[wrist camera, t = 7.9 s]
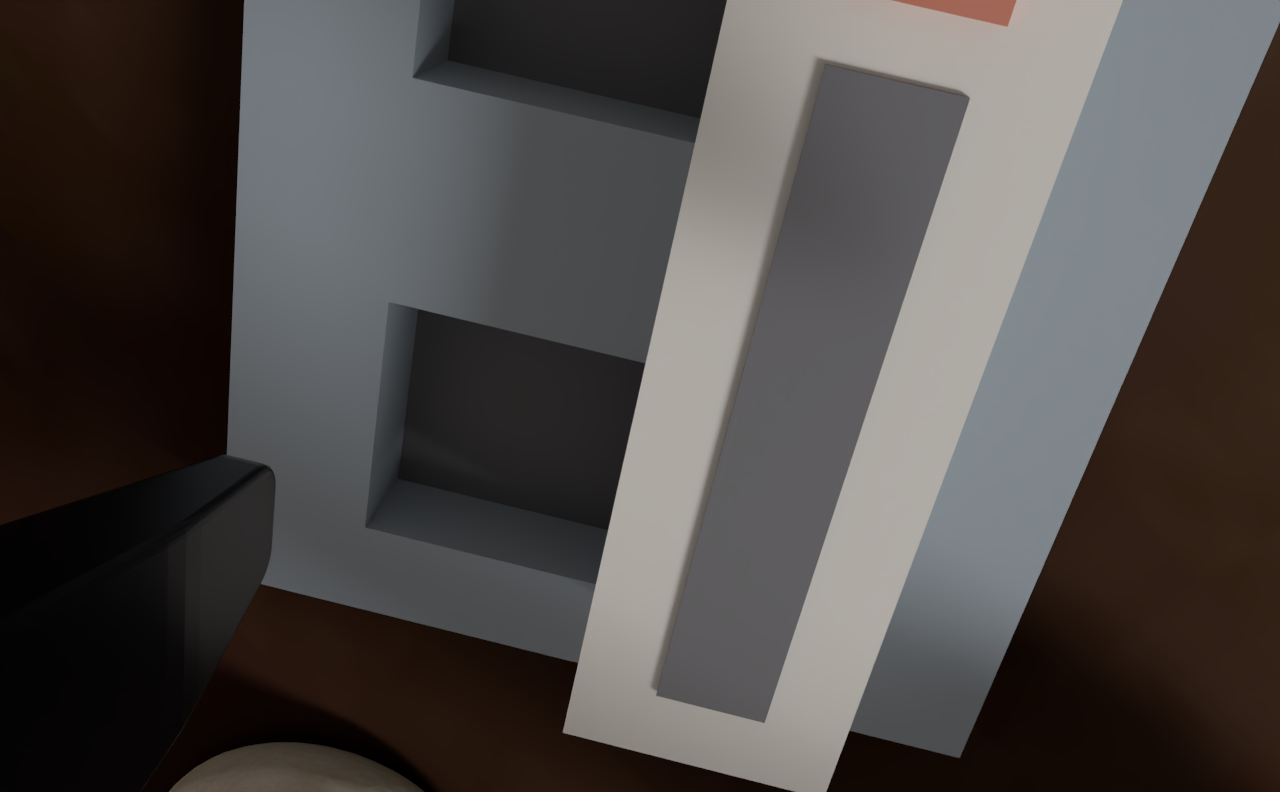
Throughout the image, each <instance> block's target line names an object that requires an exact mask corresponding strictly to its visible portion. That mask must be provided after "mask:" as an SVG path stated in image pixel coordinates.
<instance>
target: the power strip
mask: <svg viewBox="0 0 1280 792" xmlns="http://www.w3.org/2000/svg"><path fill="white" fill-rule="evenodd" d="M1122 2H1123V0H727V3H726V7H725V12H724V16H723V21H722V25H721V30H720V34H719V38H718V43H717V47H716V52H715V56H714V61H713V65H712V70H711V74H710V79H709V83H708V87H707V92H706V96H705V101H704V105H703V110H702V114H701V119H700V123H699V128H698V132H697V136H696V141H695V145H694V150H693V154H692V159H691V163H690V168H689V172H688V177H687V181H686V185H685V190H684V194H683V199H682V203H681V208H680V212H679V217H678V221H677V226H676V230H675V234H674V239H673V243H672V248H671V252H670V257H669V261H668V266H667V270H666V275H665V279H664V284H663V288H662V292H661V297H660V301H659V306H658V310H657V315H656V319H655V324H654V328H653V333H652V337H651V341H650V346H649V350H648V355H647V359H646V364H645V368H644V373H643V377H642V382H641V386H640V390H639V395H638V399H637V404H636V408H635V413H634V417H633V422H632V426H631V431H630V435H629V439H628V444H627V448H626V453H625V457H624V462H623V466H622V471H621V475H620V480H619V484H618V488H617V493H616V497H615V502H614V506H613V511H612V515H611V520H610V524H609V529H608V533H607V537H606V542H605V546H604V551H603V555H602V560H601V564H600V569H599V573H598V578H597V582H596V586H595V591H594V595H593V600H592V604H591V609H590V613H589V618H588V622H587V627H586V631H585V635H584V640H583V644H582V649H581V653H580V658H579V662H578V667H577V671H576V676H575V680H574V684H573V689H572V693H571V698H570V702H569V707H568V711H567V716H566V720H565V725H564V729H563V733H566V734H570V735H574V736H578V737H582V738H586V739H590V740H594V741H598V742H602V743H605V744H609V745H613V746H617V747H621V748H625V749H629V750H633V751H637V752H641V753H645V754H649V755H653V756H657V757H661V758H664V759H668V760H672V761H676V762H680V763H684V764H688V765H692V766H696V767H700V768H704V769H708V770H712V771H716V772H720V773H724V774H727V775H731V776H735V777H739V778H743V779H747V780H751V781H755V782H759V783H763V784H767V785H771V786H775V787H779V788H783V789H786V790H790V791H794V792H826V791H827V789H828V786H829V783H830V781H831V778H832V775H833V773H834V770H835V767H836V765H837V762H838V759H839V757H840V754H841V751H842V749H843V746H844V743H845V741H846V738H847V735H848V733H849V730H850V727H851V725H852V722H853V719H854V717H855V714H856V711H857V709H858V706H859V703H860V701H861V698H862V695H863V693H864V690H865V687H866V685H867V682H868V679H869V677H870V674H871V671H872V669H873V666H874V663H875V661H876V658H877V655H878V653H879V650H880V647H881V645H882V642H883V639H884V637H885V634H886V631H887V629H888V626H889V623H890V621H891V618H892V615H893V613H894V610H895V607H896V605H897V602H898V599H899V597H900V594H901V591H902V589H903V586H904V583H905V581H906V578H907V575H908V573H909V570H910V567H911V565H912V562H913V559H914V557H915V554H916V551H917V549H918V546H919V543H920V541H921V538H922V535H923V533H924V530H925V527H926V525H927V522H928V519H929V517H930V514H931V511H932V509H933V506H934V503H935V501H936V498H937V495H938V493H939V490H940V487H941V485H942V482H943V479H944V477H945V474H946V471H947V469H948V466H949V463H950V461H951V458H952V455H953V453H954V450H955V447H956V445H957V442H958V439H959V437H960V434H961V431H962V429H963V426H964V423H965V421H966V418H967V415H968V413H969V410H970V407H971V405H972V402H973V399H974V397H975V394H976V391H977V389H978V386H979V383H980V381H981V378H982V375H983V373H984V370H985V367H986V365H987V362H988V359H989V357H990V354H991V351H992V349H993V346H994V343H995V341H996V338H997V335H998V333H999V330H1000V327H1001V325H1002V322H1003V319H1004V317H1005V314H1006V311H1007V309H1008V306H1009V303H1010V301H1011V298H1012V295H1013V293H1014V290H1015V287H1016V285H1017V282H1018V279H1019V277H1020V274H1021V271H1022V269H1023V266H1024V263H1025V261H1026V258H1027V255H1028V253H1029V250H1030V247H1031V245H1032V242H1033V239H1034V237H1035V234H1036V231H1037V229H1038V226H1039V223H1040V221H1041V218H1042V215H1043V213H1044V210H1045V207H1046V205H1047V202H1048V199H1049V197H1050V194H1051V191H1052V189H1053V186H1054V183H1055V181H1056V178H1057V175H1058V172H1059V170H1060V167H1061V164H1062V162H1063V159H1064V156H1065V154H1066V151H1067V148H1068V146H1069V143H1070V140H1071V138H1072V135H1073V132H1074V130H1075V127H1076V124H1077V122H1078V119H1079V116H1080V114H1081V111H1082V108H1083V106H1084V103H1085V100H1086V98H1087V95H1088V92H1089V90H1090V87H1091V84H1092V82H1093V79H1094V76H1095V74H1096V71H1097V68H1098V66H1099V63H1100V60H1101V58H1102V55H1103V52H1104V50H1105V47H1106V44H1107V42H1108V39H1109V36H1110V34H1111V31H1112V28H1113V26H1114V23H1115V20H1116V18H1117V15H1118V12H1119V10H1120V7H1121V4H1122Z"/></svg>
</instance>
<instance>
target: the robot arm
mask: <svg viewBox="0 0 1280 792" xmlns="http://www.w3.org/2000/svg"><path fill="white" fill-rule="evenodd" d="M275 490H276V480H275V475H274V472H273V470H272V469H271V468H270V466H269V465H266V464H263V463H259V462H255V461H251V460H247V459H243V458H239V457H235V456H231V455H220V456H217V457H213V458H210V459H207V460H204V461H201V462H198V463H194V464H191V465H188V466H185V467H182V468H179V469H176V470H172V471H169V472H166V473H163V474H160V475H157V476H154V477H151V478H147V479H144V480H141V481H138V482H135V483H132V484H128V485H125V486H122V487H119V488H116V489H113V490H110V491H106V492H103V493H100V494H97V495H94V496H91V497H88V498H84V499H81V500H78V501H75V502H72V503H69V504H66V505H62V506H59V507H56V508H53V509H50V510H47V511H44V512H40V513H37V514H34V515H31V516H28V517H25V518H21V519H18V520H15V521H12V522H9V523H6V524H3V525H0V792H141V791H142V789H143V788H144V786H145V785H146V784H147V782H148V781H149V779H150V778H151V776H152V775H153V773H154V772H155V771H156V769H157V768H158V766H159V765H160V763H161V762H162V760H163V759H164V757H165V756H166V754H167V753H168V751H169V750H170V748H171V747H172V745H173V744H174V742H175V741H176V739H177V738H178V736H179V734H180V733H181V731H182V730H183V728H184V726H185V724H186V723H187V721H188V719H189V717H190V716H191V714H192V712H193V710H194V708H195V707H196V705H197V703H198V701H199V699H200V697H201V695H202V694H203V692H204V690H205V688H206V686H207V684H208V682H209V680H210V678H211V677H212V675H213V673H214V671H215V669H216V667H217V665H218V663H219V661H220V660H221V658H222V656H223V654H224V652H225V650H226V648H227V646H228V644H229V643H230V641H231V639H232V637H233V635H234V633H235V631H236V629H237V627H238V626H239V624H240V622H241V620H242V618H243V616H244V614H245V612H246V610H247V609H248V607H249V605H250V603H251V601H252V599H253V597H254V595H255V593H256V592H257V590H258V588H259V586H260V584H261V582H262V580H263V578H264V576H265V573H266V571H267V568H268V565H269V561H270V557H271V551H272V538H273V522H274V506H275Z"/></svg>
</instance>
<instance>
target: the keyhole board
mask: <svg viewBox="0 0 1280 792" xmlns="http://www.w3.org/2000/svg"><path fill="white" fill-rule="evenodd" d="M726 3H727V0H244V21H243V47H242V73H241V99H240V125H239V151H238V177H237V204H236V230H235V256H234V282H233V308H232V334H231V360H230V387H229V413H228V439H227V455H231V456H235V457H239V458H243V459H247V460H251V461H255V462H259V463H263V464H266V465H269V466H270V468H271V469H272V470H273V472H274V475H275V480H276V490H275V506H274V522H273V538H272V551H271V557H270V561H269V565H268V568H267V571H266V573H265V576H264V578H263V580H262V582H261V584H263V585H267V586H271V587H275V588H279V589H283V590H287V591H291V592H295V593H299V594H303V595H307V596H311V597H315V598H319V599H323V600H328V601H332V602H336V603H340V604H344V605H348V606H352V607H356V608H360V609H364V610H368V611H372V612H376V613H380V614H384V615H388V616H392V617H396V618H400V619H404V620H408V621H412V622H416V623H420V624H424V625H428V626H432V627H436V628H440V629H444V630H448V631H452V632H456V633H460V634H464V635H468V636H472V637H476V638H480V639H484V640H488V641H492V642H496V643H500V644H504V645H508V646H512V647H516V648H520V649H524V650H528V651H532V652H536V653H540V654H544V655H548V656H552V657H556V658H560V659H564V660H568V661H572V662H576V663H578V662H579V658H580V653H581V649H582V644H583V640H584V635H585V631H586V627H587V622H588V618H589V613H590V609H591V604H592V600H593V595H594V591H595V586H596V582H597V578H598V573H599V569H600V564H601V560H602V555H603V551H604V546H605V542H606V537H607V533H608V529H609V524H610V520H611V515H612V511H613V506H614V502H615V497H616V493H617V488H618V484H619V480H620V475H621V471H622V466H623V462H624V457H625V453H626V448H627V444H628V439H629V435H630V431H631V426H632V422H633V417H634V413H635V408H636V404H637V399H638V395H639V390H640V386H641V382H642V377H643V373H644V368H645V364H646V359H647V355H648V350H649V346H650V341H651V337H652V333H653V328H654V324H655V319H656V315H657V310H658V306H659V301H660V297H661V292H662V288H663V284H664V279H665V275H666V270H667V266H668V261H669V257H670V252H671V248H672V243H673V239H674V234H675V230H676V226H677V221H678V217H679V212H680V208H681V203H682V199H683V194H684V190H685V185H686V181H687V177H688V172H689V168H690V163H691V159H692V154H693V150H694V145H695V141H696V136H697V132H698V128H699V123H700V119H701V114H702V110H703V105H704V101H705V96H706V92H707V87H708V83H709V79H710V74H711V70H712V65H713V61H714V56H715V52H716V47H717V43H718V38H719V34H720V30H721V25H722V21H723V16H724V12H725V7H726ZM1279 22H1280V0H1123V2H1122V4H1121V7H1120V10H1119V12H1118V15H1117V18H1116V20H1115V23H1114V26H1113V28H1112V31H1111V34H1110V36H1109V39H1108V42H1107V44H1106V47H1105V50H1104V52H1103V55H1102V58H1101V60H1100V63H1099V66H1098V68H1097V71H1096V74H1095V76H1094V79H1093V82H1092V84H1091V87H1090V90H1089V92H1088V95H1087V98H1086V100H1085V103H1084V106H1083V108H1082V111H1081V114H1080V116H1079V119H1078V122H1077V124H1076V127H1075V130H1074V132H1073V135H1072V138H1071V140H1070V143H1069V146H1068V148H1067V151H1066V154H1065V156H1064V159H1063V162H1062V164H1061V167H1060V170H1059V172H1058V175H1057V178H1056V181H1055V183H1054V186H1053V189H1052V191H1051V194H1050V197H1049V199H1048V202H1047V205H1046V207H1045V210H1044V213H1043V215H1042V218H1041V221H1040V223H1039V226H1038V229H1037V231H1036V234H1035V237H1034V239H1033V242H1032V245H1031V247H1030V250H1029V253H1028V255H1027V258H1026V261H1025V263H1024V266H1023V269H1022V271H1021V274H1020V277H1019V279H1018V282H1017V285H1016V287H1015V290H1014V293H1013V295H1012V298H1011V301H1010V303H1009V306H1008V309H1007V311H1006V314H1005V317H1004V319H1003V322H1002V325H1001V327H1000V330H999V333H998V335H997V338H996V341H995V343H994V346H993V349H992V351H991V354H990V357H989V359H988V362H987V365H986V367H985V370H984V373H983V375H982V378H981V381H980V383H979V386H978V389H977V391H976V394H975V397H974V399H973V402H972V405H971V407H970V410H969V413H968V415H967V418H966V421H965V423H964V426H963V429H962V431H961V434H960V437H959V439H958V442H957V445H956V447H955V450H954V453H953V455H952V458H951V461H950V463H949V466H948V469H947V471H946V474H945V477H944V479H943V482H942V485H941V487H940V490H939V493H938V495H937V498H936V501H935V503H934V506H933V509H932V511H931V514H930V517H929V519H928V522H927V525H926V527H925V530H924V533H923V535H922V538H921V541H920V543H919V546H918V549H917V551H916V554H915V557H914V559H913V562H912V565H911V567H910V570H909V573H908V575H907V578H906V581H905V583H904V586H903V589H902V591H901V594H900V597H899V599H898V602H897V605H896V607H895V610H894V613H893V615H892V618H891V621H890V623H889V626H888V629H887V631H886V634H885V637H884V639H883V642H882V645H881V647H880V650H879V653H878V655H877V658H876V661H875V663H874V666H873V669H872V671H871V674H870V677H869V679H868V682H867V685H866V687H865V690H864V693H863V695H862V698H861V701H860V703H859V706H858V709H857V711H856V714H855V717H854V719H853V722H852V725H851V727H850V730H849V731H853V732H857V733H861V734H865V735H869V736H873V737H877V738H881V739H885V740H889V741H893V742H897V743H901V744H905V745H909V746H913V747H917V748H921V749H925V750H929V751H933V752H937V753H941V754H945V755H949V756H953V757H957V758H960V756H961V754H962V751H963V749H964V747H965V744H966V742H967V740H968V738H969V735H970V733H971V731H972V728H973V726H974V724H975V721H976V719H977V717H978V715H979V712H980V710H981V708H982V705H983V703H984V701H985V698H986V696H987V694H988V692H989V689H990V687H991V685H992V682H993V680H994V678H995V675H996V673H997V671H998V669H999V666H1000V664H1001V662H1002V659H1003V657H1004V655H1005V652H1006V650H1007V648H1008V646H1009V643H1010V641H1011V639H1012V636H1013V634H1014V632H1015V629H1016V627H1017V625H1018V623H1019V620H1020V618H1021V616H1022V613H1023V611H1024V609H1025V606H1026V604H1027V602H1028V600H1029V597H1030V595H1031V593H1032V590H1033V588H1034V586H1035V583H1036V581H1037V579H1038V577H1039V574H1040V572H1041V570H1042V567H1043V565H1044V563H1045V560H1046V558H1047V556H1048V554H1049V551H1050V549H1051V547H1052V544H1053V542H1054V540H1055V537H1056V535H1057V533H1058V531H1059V528H1060V526H1061V524H1062V521H1063V519H1064V517H1065V514H1066V512H1067V510H1068V508H1069V505H1070V503H1071V501H1072V498H1073V496H1074V494H1075V491H1076V489H1077V487H1078V485H1079V482H1080V480H1081V478H1082V475H1083V473H1084V471H1085V468H1086V466H1087V464H1088V462H1089V459H1090V457H1091V455H1092V452H1093V450H1094V448H1095V445H1096V443H1097V441H1098V439H1099V436H1100V434H1101V432H1102V429H1103V427H1104V425H1105V422H1106V420H1107V418H1108V416H1109V413H1110V411H1111V409H1112V406H1113V404H1114V402H1115V399H1116V397H1117V395H1118V393H1119V390H1120V388H1121V386H1122V383H1123V381H1124V379H1125V376H1126V374H1127V372H1128V370H1129V367H1130V365H1131V363H1132V360H1133V358H1134V356H1135V353H1136V351H1137V349H1138V347H1139V344H1140V342H1141V340H1142V337H1143V335H1144V333H1145V330H1146V328H1147V326H1148V324H1149V321H1150V319H1151V317H1152V314H1153V312H1154V310H1155V307H1156V305H1157V303H1158V301H1159V298H1160V296H1161V294H1162V291H1163V289H1164V287H1165V284H1166V282H1167V280H1168V278H1169V275H1170V273H1171V271H1172V268H1173V266H1174V264H1175V261H1176V259H1177V257H1178V255H1179V252H1180V250H1181V248H1182V245H1183V243H1184V241H1185V238H1186V236H1187V234H1188V232H1189V229H1190V227H1191V225H1192V222H1193V220H1194V218H1195V215H1196V213H1197V211H1198V209H1199V206H1200V204H1201V202H1202V199H1203V197H1204V195H1205V192H1206V190H1207V188H1208V186H1209V183H1210V181H1211V179H1212V176H1213V174H1214V172H1215V169H1216V167H1217V165H1218V163H1219V160H1220V158H1221V156H1222V153H1223V151H1224V149H1225V146H1226V144H1227V142H1228V140H1229V137H1230V135H1231V133H1232V130H1233V128H1234V126H1235V123H1236V121H1237V119H1238V117H1239V114H1240V112H1241V110H1242V107H1243V105H1244V103H1245V100H1246V98H1247V96H1248V94H1249V91H1250V89H1251V87H1252V84H1253V82H1254V80H1255V77H1256V75H1257V73H1258V71H1259V68H1260V66H1261V64H1262V61H1263V59H1264V57H1265V54H1266V52H1267V50H1268V48H1269V45H1270V43H1271V41H1272V38H1273V36H1274V34H1275V31H1276V29H1277V27H1278V25H1279Z"/></svg>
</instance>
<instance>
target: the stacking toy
mask: <svg viewBox="0 0 1280 792" xmlns="http://www.w3.org/2000/svg"><path fill="white" fill-rule="evenodd" d="M169 792H425V791H423V790H422V789H421V788H419V787H418V786H416V785H415V784H414V783H412V782H411V781H410V780H408V779H407V778H405V777H403V776H402V775H400V774H398V773H397V772H395V771H393V770H391V769H389V768H387V767H385V766H383V765H381V764H379V763H377V762H375V761H372V760H370V759H367V758H365V757H362V756H360V755H357V754H355V753H351V752H347V751H343V750H340V749H336V748H332V747H327V746H322V745H316V744H307V743H297V742H273V743H264V744H256V745H250V746H245V747H241V748H238V749H234V750H231V751H227V752H224V753H222V754H220V755H217V756H215V757H213V758H211V759H209V760H207V761H206V762H204V763H202V764H201V765H199V766H197V767H195V768H194V769H193V770H191V771H190V772H189V773H188V774H187V775H185V776H184V777H183V778H182V779H181V780H179V781H178V782H177V783H176V784H175V785H174V786H173V787H172V789H171V790H170V791H169Z"/></svg>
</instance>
